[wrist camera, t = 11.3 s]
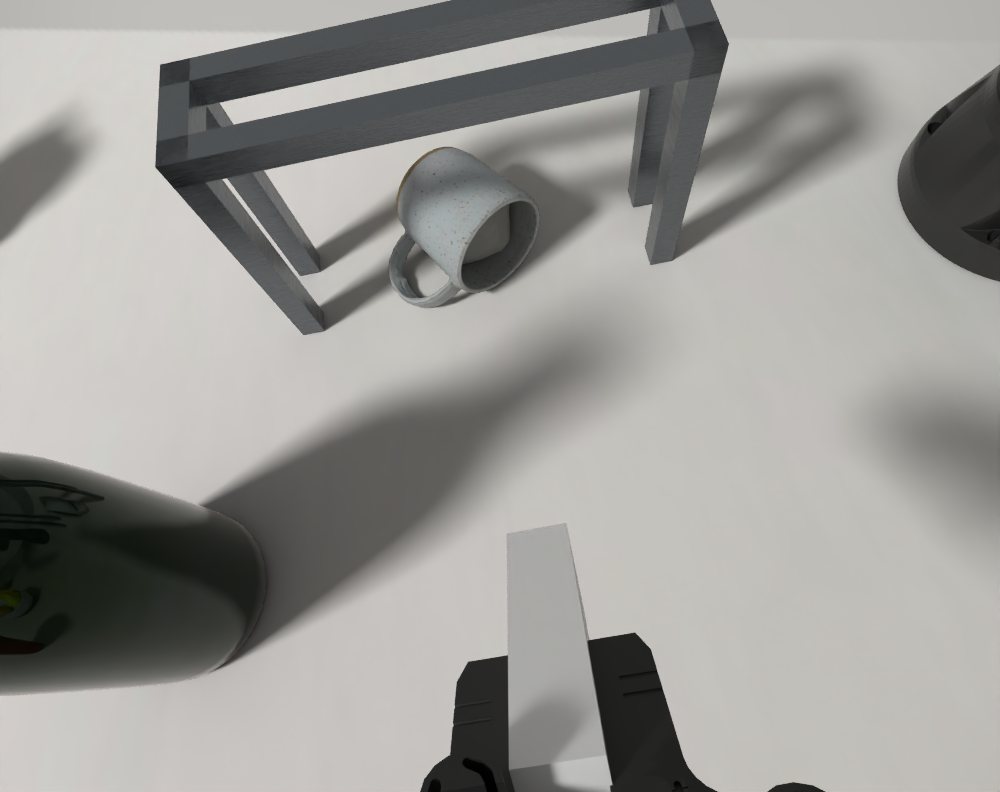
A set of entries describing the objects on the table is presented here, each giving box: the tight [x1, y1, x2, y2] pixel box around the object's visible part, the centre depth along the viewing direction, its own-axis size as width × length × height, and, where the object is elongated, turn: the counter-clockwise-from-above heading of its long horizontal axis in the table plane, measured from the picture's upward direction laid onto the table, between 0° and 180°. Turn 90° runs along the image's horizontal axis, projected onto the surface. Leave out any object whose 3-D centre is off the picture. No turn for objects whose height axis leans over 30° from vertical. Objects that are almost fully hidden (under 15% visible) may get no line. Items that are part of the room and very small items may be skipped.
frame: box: [155, 0, 729, 335], centre depth 39 cm, size 28×7×18 cm, turn 99°
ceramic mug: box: [389, 147, 540, 308], centre depth 45 cm, size 11×8×8 cm
